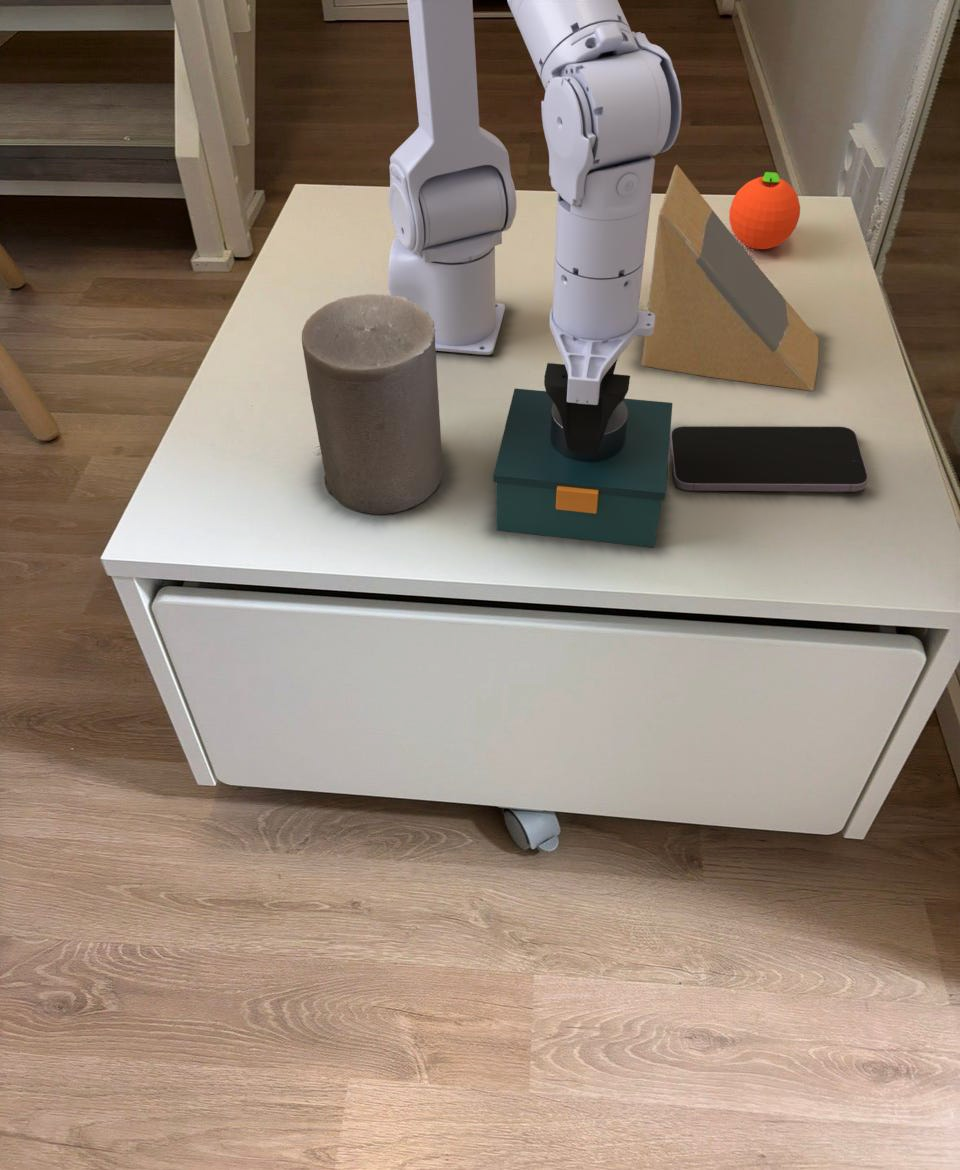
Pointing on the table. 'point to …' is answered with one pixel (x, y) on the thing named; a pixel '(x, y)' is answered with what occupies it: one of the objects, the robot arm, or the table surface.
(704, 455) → the smartphone
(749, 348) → the sandwich container
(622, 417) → the grey disc
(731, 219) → the clementine
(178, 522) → the table surface
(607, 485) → the box
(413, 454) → the pillar candle
